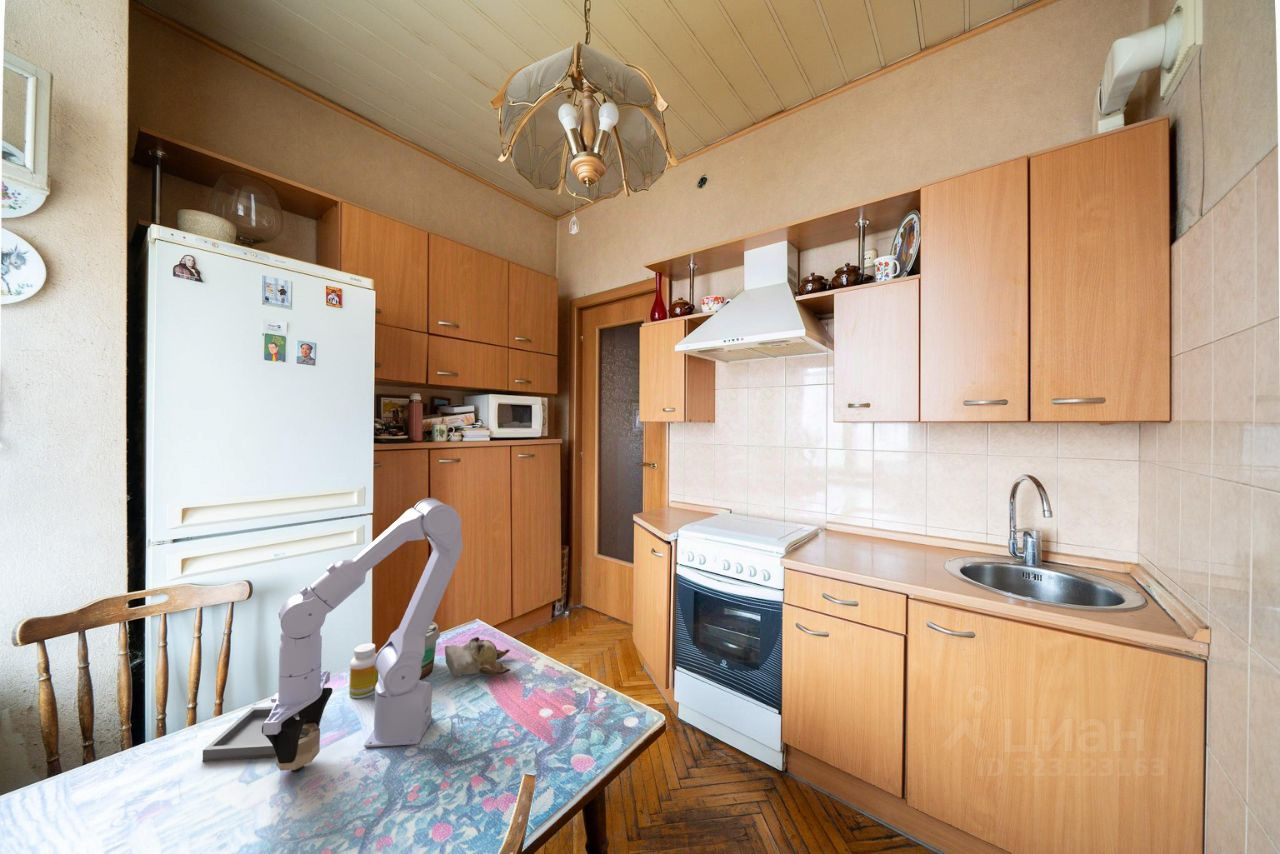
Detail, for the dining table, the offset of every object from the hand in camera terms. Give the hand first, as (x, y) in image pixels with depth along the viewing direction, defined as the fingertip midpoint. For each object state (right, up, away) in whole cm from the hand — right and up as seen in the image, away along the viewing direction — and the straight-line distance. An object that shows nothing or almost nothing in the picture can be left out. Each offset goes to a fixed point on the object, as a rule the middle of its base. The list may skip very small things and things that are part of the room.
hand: (298, 748), depth 75 cm
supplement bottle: (-2, -4, +22) cm, 22 cm away
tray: (-12, -3, +7) cm, 15 cm away
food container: (+7, -4, +29) cm, 30 cm away
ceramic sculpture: (+19, -4, +31) cm, 36 cm away
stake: (0, -4, 0) cm, 3 cm away
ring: (0, -2, 0) cm, 2 cm away
